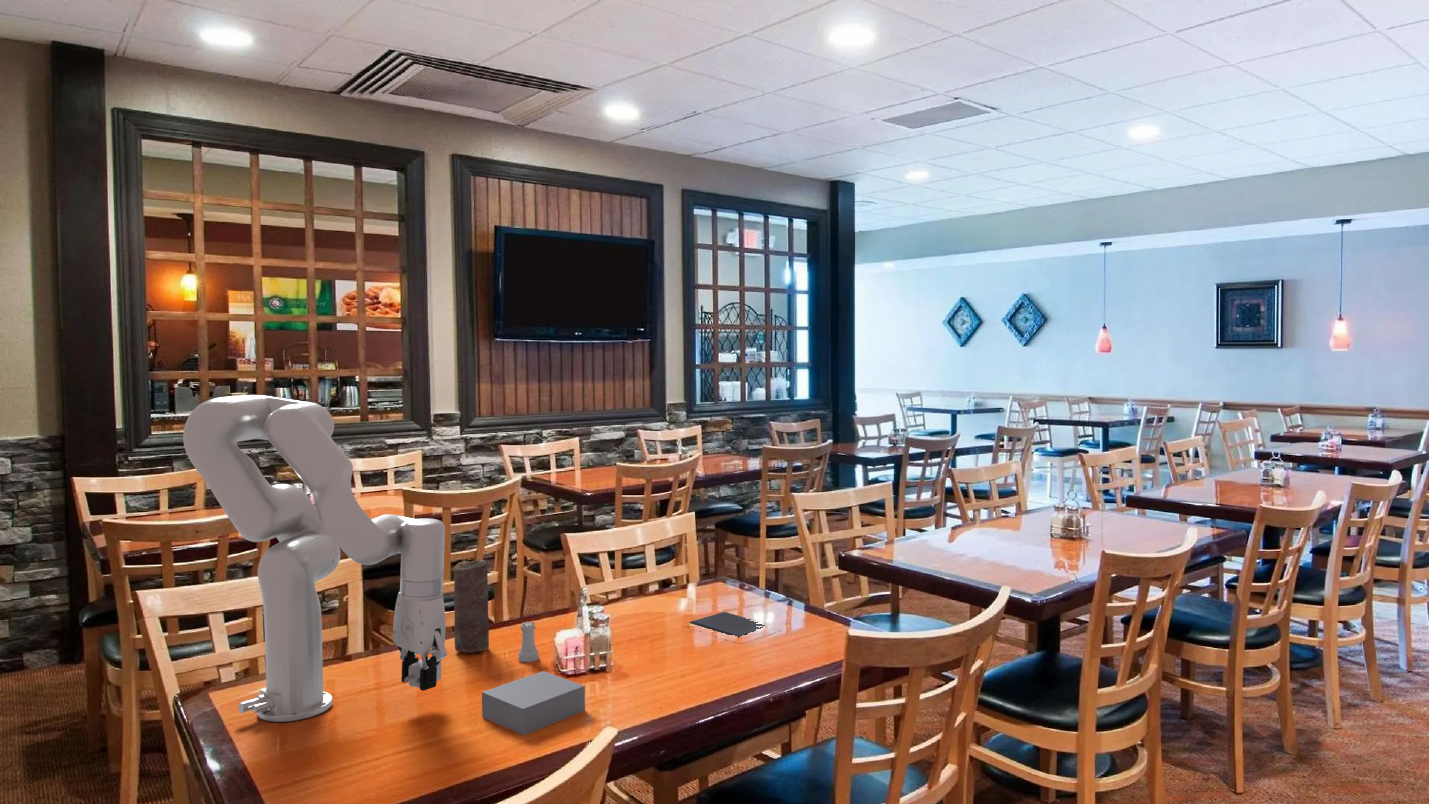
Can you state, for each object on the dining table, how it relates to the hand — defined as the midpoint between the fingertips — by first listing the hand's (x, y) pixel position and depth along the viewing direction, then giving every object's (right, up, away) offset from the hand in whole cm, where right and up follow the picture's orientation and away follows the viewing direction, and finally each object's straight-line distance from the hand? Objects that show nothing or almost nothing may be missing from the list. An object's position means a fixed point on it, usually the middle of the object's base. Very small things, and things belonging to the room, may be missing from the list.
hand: (418, 683), depth 164 cm
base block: (+21, -6, -1) cm, 22 cm away
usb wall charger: (0, -1, 0) cm, 1 cm away
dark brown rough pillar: (+1, -4, +33) cm, 33 cm away
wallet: (+58, -3, +50) cm, 77 cm away
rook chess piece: (+14, -4, +28) cm, 32 cm away
